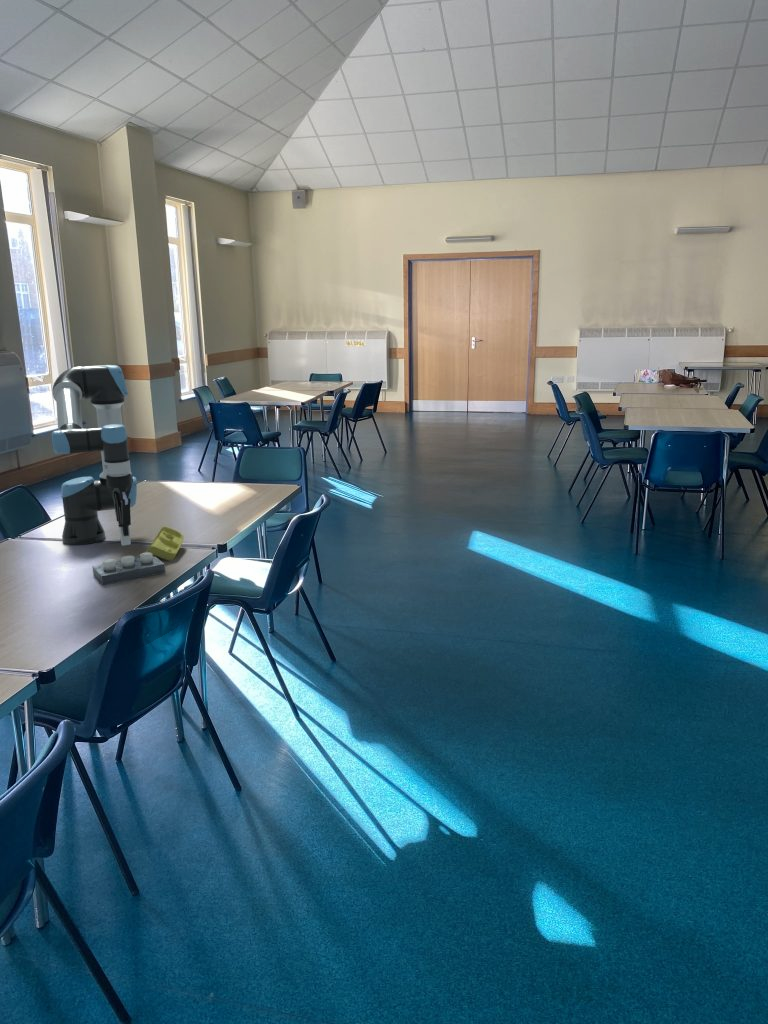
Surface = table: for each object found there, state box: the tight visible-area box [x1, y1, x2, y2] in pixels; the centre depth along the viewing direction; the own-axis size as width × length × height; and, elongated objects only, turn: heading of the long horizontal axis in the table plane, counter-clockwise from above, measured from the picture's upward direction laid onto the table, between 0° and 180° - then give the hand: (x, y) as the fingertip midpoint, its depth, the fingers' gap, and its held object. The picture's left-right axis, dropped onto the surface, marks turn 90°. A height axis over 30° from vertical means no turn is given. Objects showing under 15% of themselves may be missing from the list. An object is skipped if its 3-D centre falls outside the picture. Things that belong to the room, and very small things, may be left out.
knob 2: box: [139, 551, 153, 563], centre depth 250 cm, size 4×4×5 cm
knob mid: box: [120, 555, 135, 567], centre depth 247 cm, size 4×4×5 cm
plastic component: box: [146, 525, 185, 561], centre depth 268 cm, size 20×7×10 cm
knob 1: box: [101, 558, 117, 571], centre depth 243 cm, size 4×4×5 cm
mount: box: [92, 555, 166, 586], centre depth 247 cm, size 12×20×3 cm, turn 124°
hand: (126, 544), depth 245 cm, fingers closed
